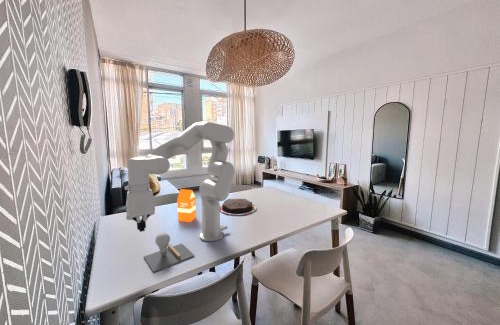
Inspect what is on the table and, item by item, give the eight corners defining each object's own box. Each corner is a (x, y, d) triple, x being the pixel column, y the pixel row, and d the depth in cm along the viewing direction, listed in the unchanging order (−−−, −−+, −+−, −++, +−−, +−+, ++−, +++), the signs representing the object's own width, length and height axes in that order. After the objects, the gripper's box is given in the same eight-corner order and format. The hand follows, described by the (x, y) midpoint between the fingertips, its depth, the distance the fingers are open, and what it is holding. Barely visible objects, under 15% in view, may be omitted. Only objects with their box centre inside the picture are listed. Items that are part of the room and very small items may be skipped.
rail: (170, 248, 106) (169, 243, 106) (180, 259, 96) (180, 255, 96) (167, 248, 105) (167, 244, 105) (178, 260, 96) (178, 256, 95)
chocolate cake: (256, 216, 147) (256, 207, 146) (215, 216, 147) (215, 207, 146) (256, 203, 175) (256, 195, 174) (221, 203, 175) (221, 195, 174)
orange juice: (190, 222, 137) (189, 191, 134) (178, 220, 139) (176, 190, 136) (196, 217, 145) (195, 188, 142) (184, 216, 146) (182, 187, 144)
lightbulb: (164, 261, 94) (162, 237, 93) (153, 258, 97) (151, 235, 95) (173, 253, 100) (172, 231, 98) (163, 250, 102) (162, 229, 101)
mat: (181, 244, 110) (181, 243, 109) (194, 256, 99) (194, 255, 99) (143, 257, 98) (143, 256, 98) (153, 272, 87) (153, 271, 87)
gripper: (120, 192, 80) (123, 239, 83) (161, 186, 90) (162, 228, 92) (116, 188, 86) (119, 232, 88) (155, 183, 96) (157, 223, 98)
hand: (141, 230), depth 90 cm, fingers closed
